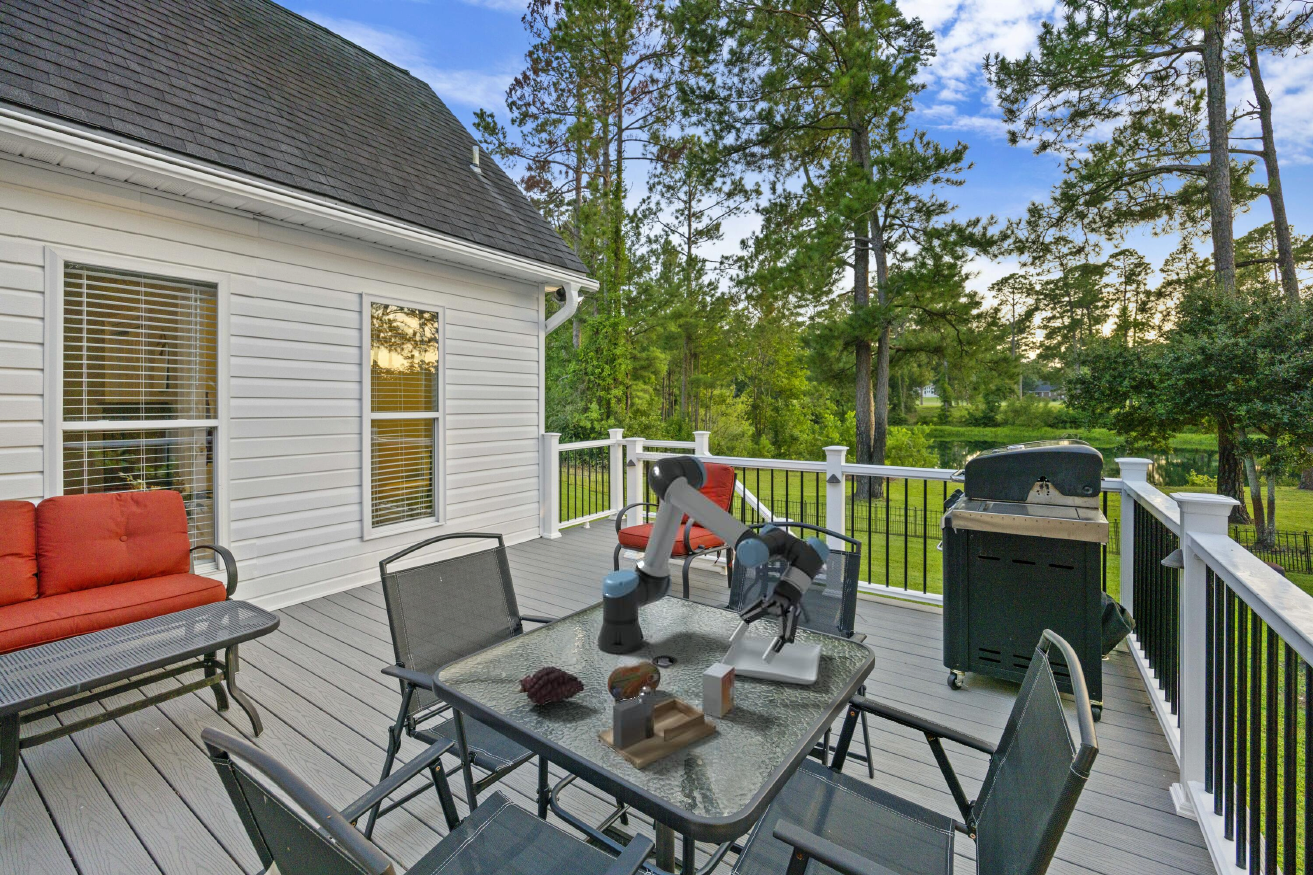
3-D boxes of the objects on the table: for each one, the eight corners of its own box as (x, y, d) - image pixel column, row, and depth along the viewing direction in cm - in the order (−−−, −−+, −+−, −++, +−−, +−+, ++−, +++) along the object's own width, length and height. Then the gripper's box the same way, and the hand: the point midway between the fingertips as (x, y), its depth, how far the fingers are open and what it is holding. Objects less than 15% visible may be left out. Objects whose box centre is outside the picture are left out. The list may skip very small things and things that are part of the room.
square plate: (816, 693, 164) (816, 679, 164) (718, 678, 173) (718, 665, 173) (822, 654, 190) (822, 642, 190) (737, 643, 199) (737, 632, 199)
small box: (721, 718, 150) (721, 677, 149) (701, 712, 153) (701, 672, 152) (734, 705, 157) (735, 666, 156) (715, 700, 160) (715, 661, 159)
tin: (610, 704, 158) (610, 672, 157) (605, 699, 160) (605, 668, 160) (661, 691, 164) (661, 661, 164) (655, 687, 167) (655, 657, 167)
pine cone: (587, 696, 161) (587, 660, 161) (579, 715, 151) (579, 677, 151) (523, 693, 163) (522, 657, 162) (511, 712, 153) (510, 674, 152)
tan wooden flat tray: (598, 740, 140) (598, 723, 140) (674, 707, 156) (674, 692, 156) (637, 769, 129) (637, 751, 129) (716, 730, 144) (716, 714, 144)
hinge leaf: (612, 744, 136) (612, 695, 135) (647, 728, 143) (647, 682, 142) (622, 751, 133) (621, 701, 133) (657, 734, 140) (657, 687, 139)
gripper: (832, 607, 156) (788, 677, 149) (768, 583, 177) (727, 643, 171) (818, 590, 153) (772, 661, 146) (754, 568, 175) (712, 628, 168)
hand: (748, 651), depth 158 cm, fingers open, 13 cm apart
